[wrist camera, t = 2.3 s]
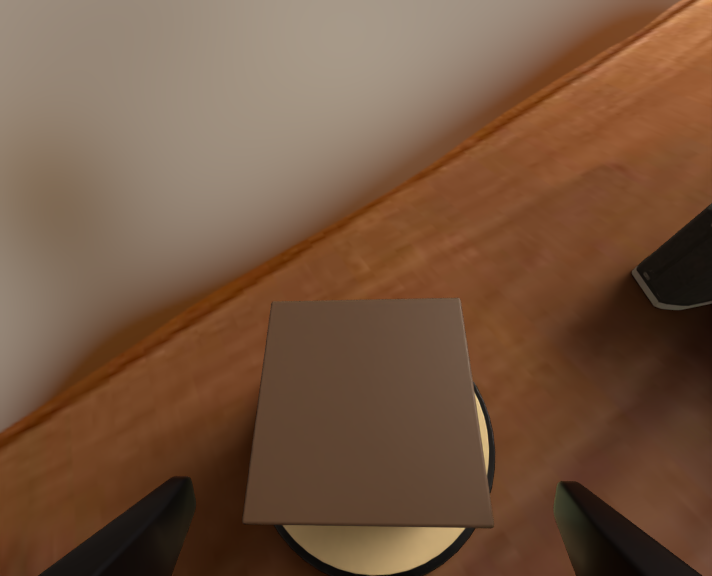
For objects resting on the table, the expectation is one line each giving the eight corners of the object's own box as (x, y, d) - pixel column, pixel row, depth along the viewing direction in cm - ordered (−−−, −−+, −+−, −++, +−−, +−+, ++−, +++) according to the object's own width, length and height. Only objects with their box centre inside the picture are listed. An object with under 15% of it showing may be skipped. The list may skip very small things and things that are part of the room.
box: (507, 576, 15) (639, 673, 7) (244, 570, 15) (114, 654, 8) (468, 327, 20) (521, 234, 12) (274, 330, 20) (214, 243, 13)
